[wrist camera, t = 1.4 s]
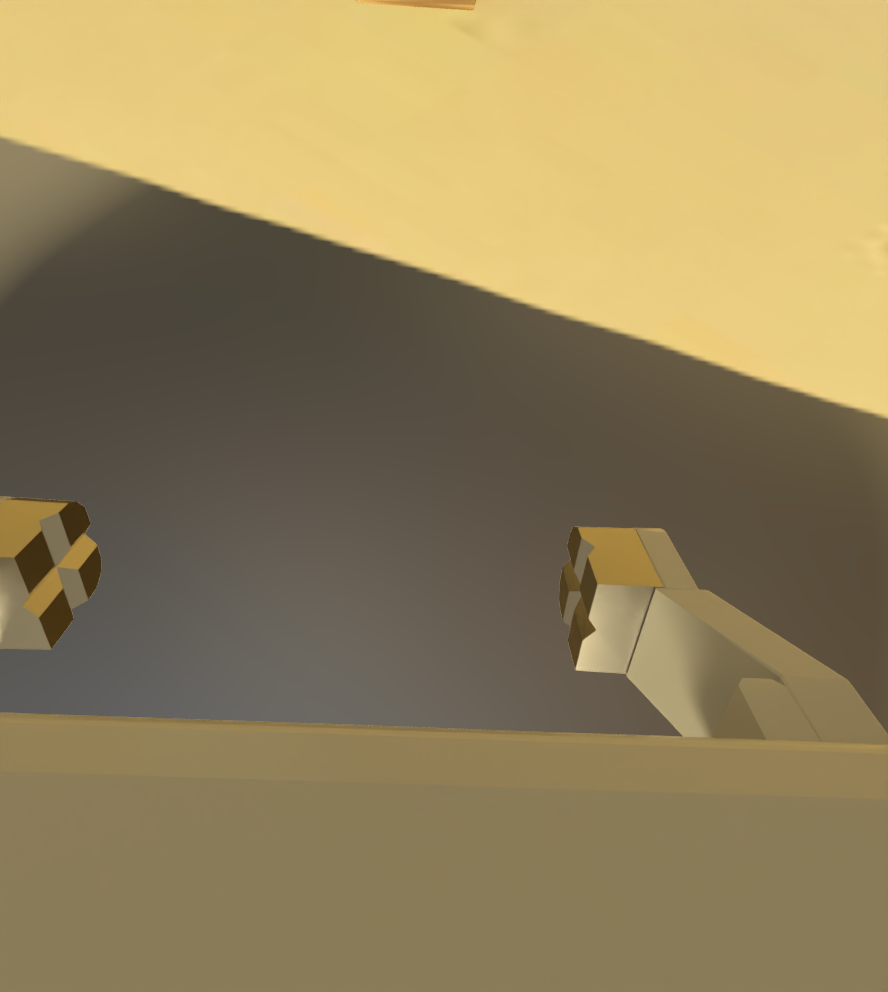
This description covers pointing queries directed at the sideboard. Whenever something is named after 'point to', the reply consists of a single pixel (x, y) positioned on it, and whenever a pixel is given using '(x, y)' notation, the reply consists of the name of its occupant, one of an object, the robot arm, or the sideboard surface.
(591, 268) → the sideboard surface
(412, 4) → the maple block
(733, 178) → the sideboard surface
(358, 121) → the sideboard surface
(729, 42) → the sideboard surface
